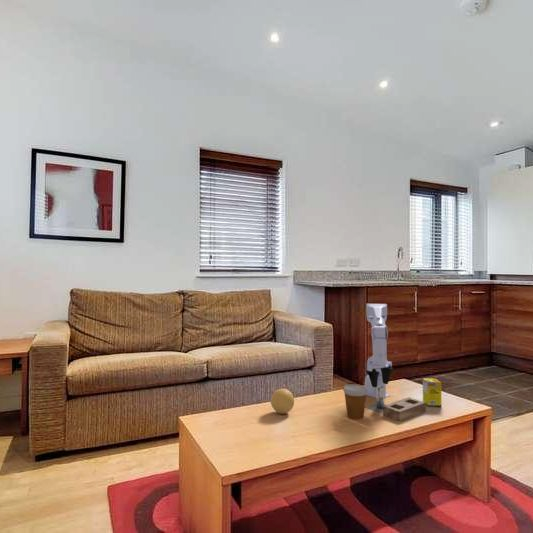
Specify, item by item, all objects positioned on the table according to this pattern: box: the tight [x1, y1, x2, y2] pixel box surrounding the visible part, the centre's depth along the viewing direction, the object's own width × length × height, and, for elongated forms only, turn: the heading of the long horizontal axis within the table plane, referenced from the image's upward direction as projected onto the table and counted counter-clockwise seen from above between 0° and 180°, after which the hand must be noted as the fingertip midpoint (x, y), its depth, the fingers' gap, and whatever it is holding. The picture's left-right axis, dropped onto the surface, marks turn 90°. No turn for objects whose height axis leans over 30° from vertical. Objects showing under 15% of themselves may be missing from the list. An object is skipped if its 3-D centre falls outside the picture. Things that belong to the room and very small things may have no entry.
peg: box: [375, 386, 385, 409], centre depth 162 cm, size 3×3×9 cm
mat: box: [364, 403, 386, 415], centre depth 161 cm, size 9×10×1 cm
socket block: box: [382, 397, 427, 422], centre depth 155 cm, size 8×18×4 cm, turn 126°
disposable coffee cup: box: [343, 383, 367, 420], centre depth 152 cm, size 10×10×12 cm
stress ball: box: [270, 388, 295, 415], centre depth 157 cm, size 10×10×10 cm
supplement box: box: [422, 378, 442, 408], centre depth 166 cm, size 6×6×11 cm
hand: (379, 385), depth 162 cm, fingers open, 7 cm apart
